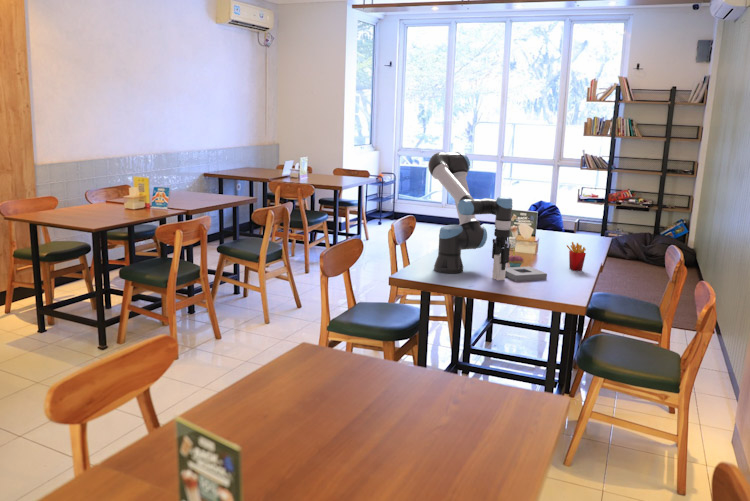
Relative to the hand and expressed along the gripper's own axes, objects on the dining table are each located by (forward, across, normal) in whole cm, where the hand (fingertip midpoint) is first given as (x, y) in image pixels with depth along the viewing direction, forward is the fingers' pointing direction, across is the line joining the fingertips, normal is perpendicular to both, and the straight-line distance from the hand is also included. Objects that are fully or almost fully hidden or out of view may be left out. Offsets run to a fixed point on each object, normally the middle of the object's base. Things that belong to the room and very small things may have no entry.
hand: (498, 274), depth 319 cm
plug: (+2, 0, 0) cm, 2 cm away
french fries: (+2, +9, -52) cm, 53 cm away
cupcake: (+2, +19, -21) cm, 28 cm away
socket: (+2, +2, -15) cm, 15 cm away
